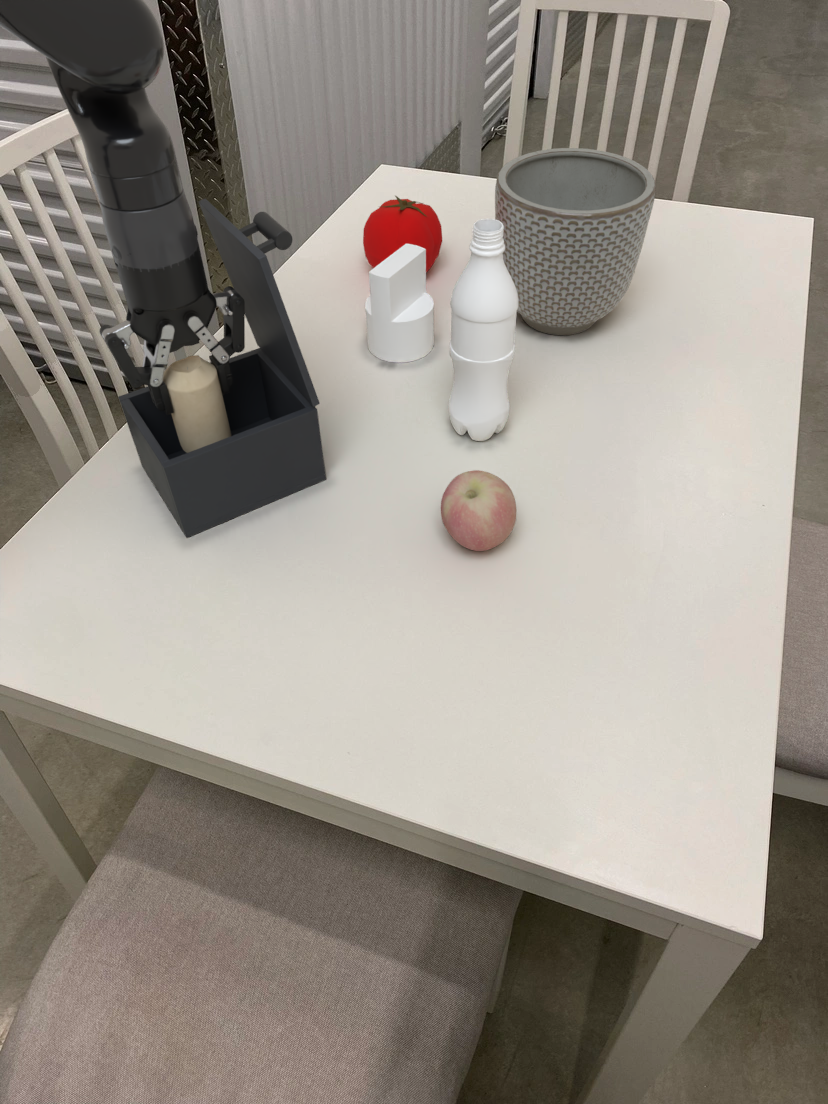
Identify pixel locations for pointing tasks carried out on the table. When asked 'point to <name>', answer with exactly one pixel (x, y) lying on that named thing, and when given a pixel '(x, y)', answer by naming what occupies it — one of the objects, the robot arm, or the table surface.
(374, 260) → the tomato
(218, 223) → the dark grey box lid
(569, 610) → the table surface
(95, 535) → the table surface
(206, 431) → the candle
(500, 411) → the water bottle
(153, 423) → the dark grey open box
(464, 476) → the apple
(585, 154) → the planter
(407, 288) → the base with upright slab
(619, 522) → the table surface
